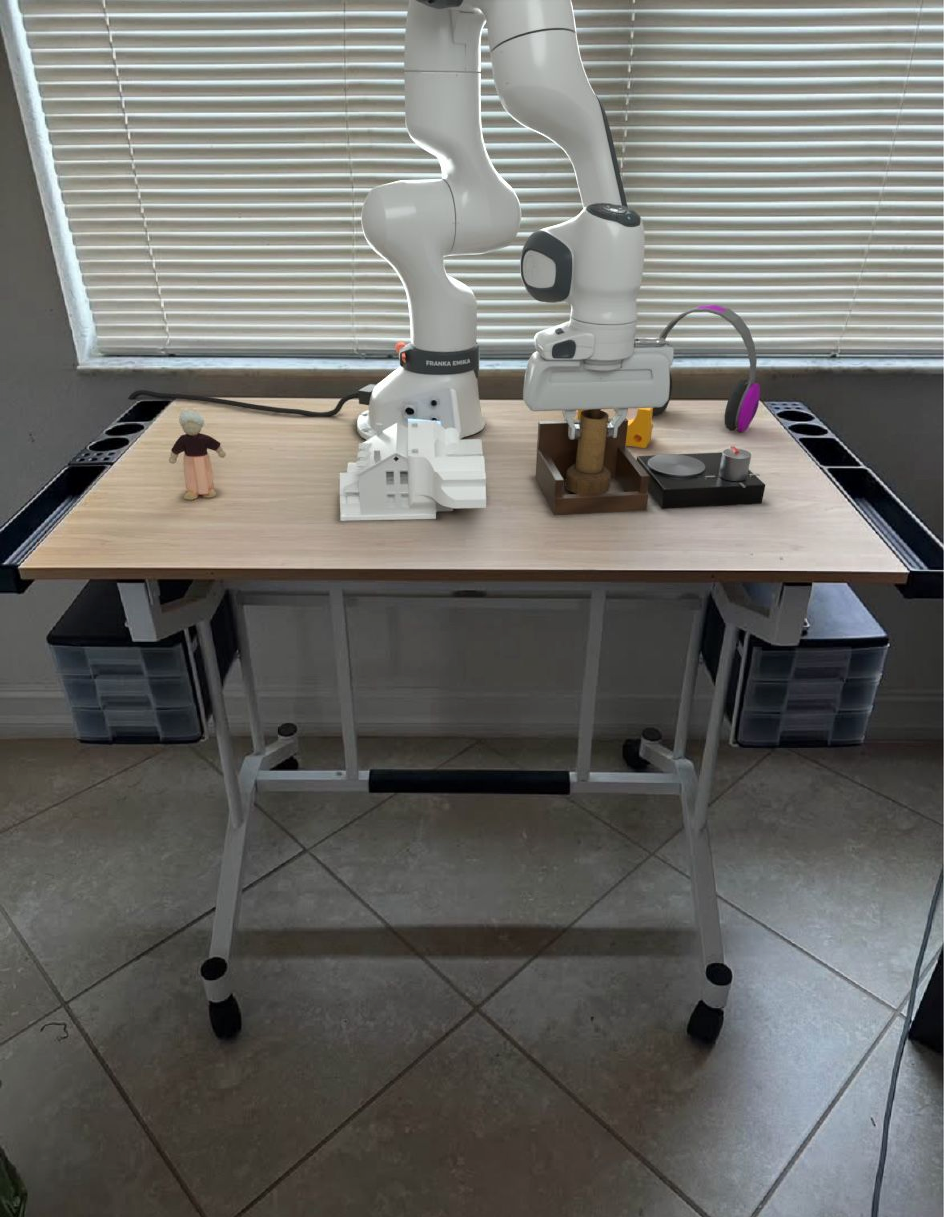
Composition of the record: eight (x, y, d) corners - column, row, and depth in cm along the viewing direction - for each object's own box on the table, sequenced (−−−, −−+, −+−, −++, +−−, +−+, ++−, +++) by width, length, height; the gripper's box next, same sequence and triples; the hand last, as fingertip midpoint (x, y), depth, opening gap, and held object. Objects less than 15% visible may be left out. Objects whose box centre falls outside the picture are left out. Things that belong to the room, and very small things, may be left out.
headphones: (758, 426, 151) (781, 309, 140) (743, 440, 144) (766, 319, 134) (649, 405, 160) (662, 295, 150) (630, 417, 154) (643, 303, 143)
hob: (663, 510, 120) (666, 490, 118) (634, 474, 131) (637, 454, 129) (767, 505, 121) (771, 485, 120) (730, 469, 133) (733, 450, 131)
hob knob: (751, 481, 121) (756, 456, 119) (724, 481, 121) (728, 456, 119) (741, 470, 125) (745, 445, 123) (714, 471, 124) (719, 446, 122)
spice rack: (554, 515, 118) (558, 454, 113) (535, 477, 129) (538, 421, 125) (646, 510, 120) (654, 450, 115) (620, 474, 131) (626, 418, 126)
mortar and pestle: (607, 498, 121) (621, 373, 112) (562, 493, 122) (572, 370, 113) (610, 480, 127) (624, 360, 117) (567, 476, 128) (577, 356, 118)
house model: (346, 481, 127) (342, 418, 122) (478, 479, 129) (479, 417, 123) (338, 538, 111) (332, 468, 106) (488, 534, 113) (490, 465, 107)
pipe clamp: (650, 439, 144) (655, 402, 141) (645, 448, 141) (650, 410, 137) (582, 430, 148) (585, 393, 145) (576, 438, 144) (578, 401, 141)
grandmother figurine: (179, 504, 120) (163, 417, 113) (174, 494, 123) (158, 409, 116) (233, 494, 123) (221, 410, 116) (227, 485, 126) (214, 402, 119)
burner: (657, 478, 122) (658, 476, 122) (640, 457, 129) (640, 455, 129) (713, 476, 123) (714, 473, 123) (693, 455, 130) (693, 452, 130)
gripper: (668, 331, 117) (655, 427, 124) (523, 334, 114) (518, 432, 122) (683, 343, 112) (669, 443, 119) (532, 347, 109) (526, 448, 117)
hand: (591, 437), depth 120 cm, fingers closed on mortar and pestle, 4 cm apart
